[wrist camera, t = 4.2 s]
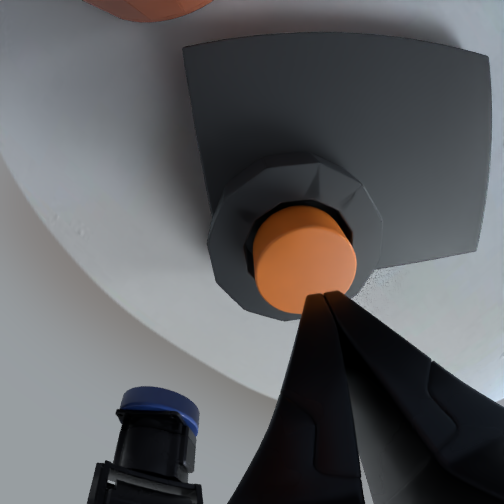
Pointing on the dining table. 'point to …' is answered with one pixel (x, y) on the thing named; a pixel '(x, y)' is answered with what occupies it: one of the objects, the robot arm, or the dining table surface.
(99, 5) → the jar
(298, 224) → the button
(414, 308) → the dining table surface
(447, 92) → the scale
